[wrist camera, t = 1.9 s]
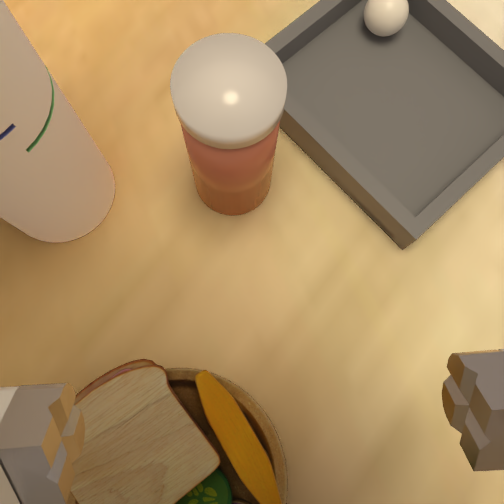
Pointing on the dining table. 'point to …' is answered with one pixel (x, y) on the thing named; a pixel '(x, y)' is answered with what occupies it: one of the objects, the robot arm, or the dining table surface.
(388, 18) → the mixing ball
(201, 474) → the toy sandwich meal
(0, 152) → the cylindrical container
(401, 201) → the tray
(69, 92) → the dining table surface
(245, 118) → the shaker
